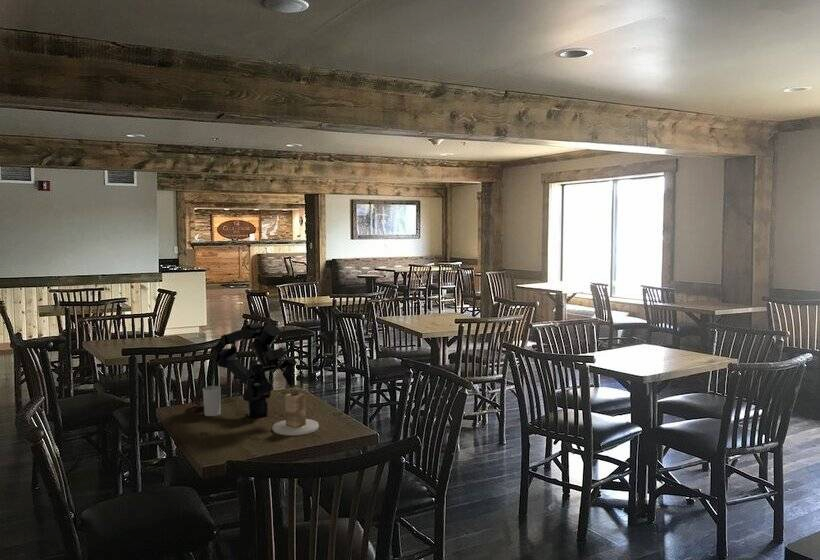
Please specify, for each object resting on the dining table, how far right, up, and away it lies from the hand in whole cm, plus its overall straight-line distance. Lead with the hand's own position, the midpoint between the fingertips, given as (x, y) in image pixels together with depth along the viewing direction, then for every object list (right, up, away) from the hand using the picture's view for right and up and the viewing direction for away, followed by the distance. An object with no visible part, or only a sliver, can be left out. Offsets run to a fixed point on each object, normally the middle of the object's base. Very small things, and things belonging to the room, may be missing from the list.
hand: (281, 388), depth 229 cm
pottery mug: (-33, -12, +24) cm, 43 cm away
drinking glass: (-29, -12, +14) cm, 34 cm away
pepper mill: (+6, -12, -4) cm, 14 cm away
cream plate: (+6, -14, -4) cm, 15 cm away
